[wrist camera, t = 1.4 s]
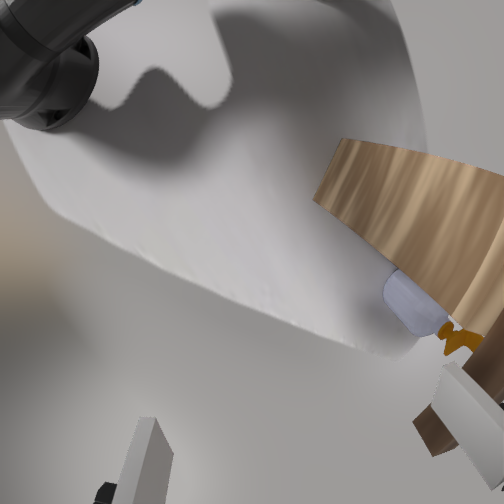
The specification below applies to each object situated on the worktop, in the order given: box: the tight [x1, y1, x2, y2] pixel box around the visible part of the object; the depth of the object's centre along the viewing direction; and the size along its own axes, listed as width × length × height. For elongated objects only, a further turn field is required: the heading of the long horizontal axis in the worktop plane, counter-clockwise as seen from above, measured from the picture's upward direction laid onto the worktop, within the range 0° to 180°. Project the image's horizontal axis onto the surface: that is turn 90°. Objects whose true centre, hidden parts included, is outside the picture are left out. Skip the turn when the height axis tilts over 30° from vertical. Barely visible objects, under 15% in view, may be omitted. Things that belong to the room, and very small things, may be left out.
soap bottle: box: [383, 269, 484, 356], centre depth 39 cm, size 9×9×25 cm
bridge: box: [313, 138, 504, 336], centre depth 27 cm, size 12×10×30 cm
